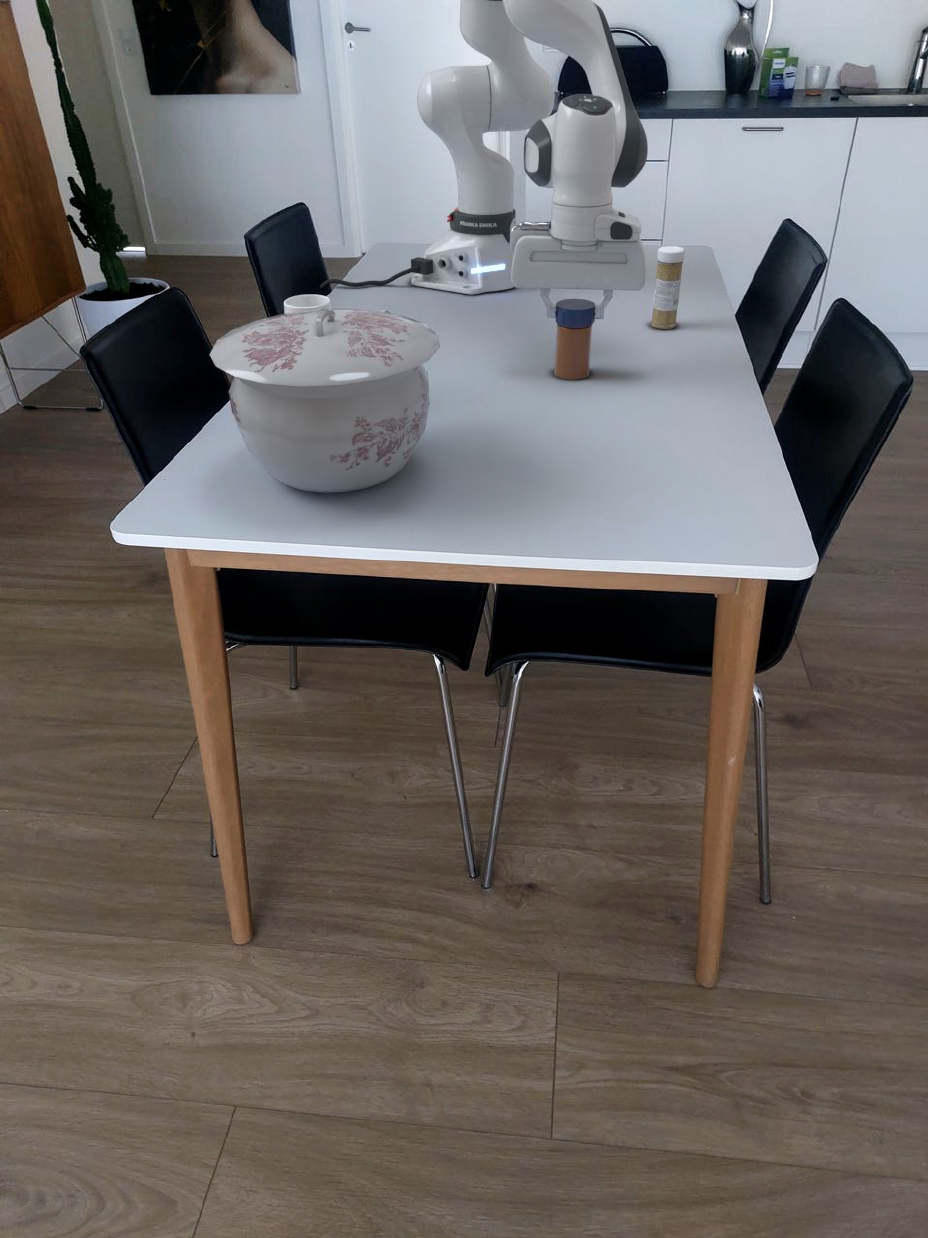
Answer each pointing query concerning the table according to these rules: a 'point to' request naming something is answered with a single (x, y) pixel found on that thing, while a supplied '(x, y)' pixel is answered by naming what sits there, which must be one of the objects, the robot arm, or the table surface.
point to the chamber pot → (329, 394)
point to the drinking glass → (306, 303)
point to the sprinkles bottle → (667, 286)
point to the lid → (575, 312)
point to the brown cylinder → (573, 352)
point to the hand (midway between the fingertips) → (575, 317)
